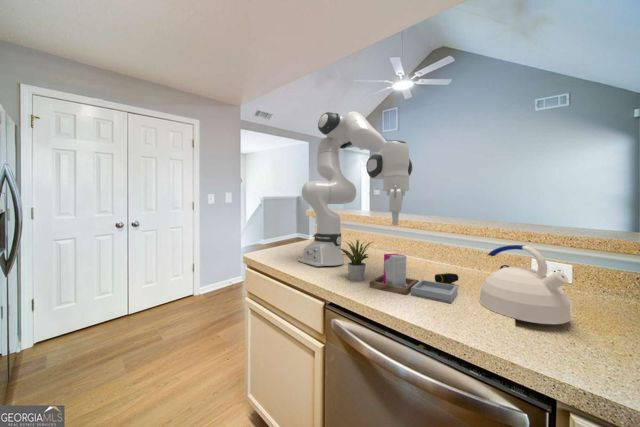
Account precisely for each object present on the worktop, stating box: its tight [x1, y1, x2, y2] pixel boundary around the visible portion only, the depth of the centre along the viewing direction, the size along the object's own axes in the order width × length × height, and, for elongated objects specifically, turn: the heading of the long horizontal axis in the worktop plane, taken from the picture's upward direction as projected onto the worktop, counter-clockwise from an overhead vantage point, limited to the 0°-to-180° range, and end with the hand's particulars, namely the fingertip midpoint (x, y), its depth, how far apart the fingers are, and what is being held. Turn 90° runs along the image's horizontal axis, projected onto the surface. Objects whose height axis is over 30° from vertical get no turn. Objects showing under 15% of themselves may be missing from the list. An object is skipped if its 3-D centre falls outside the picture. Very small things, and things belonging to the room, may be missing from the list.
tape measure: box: [434, 272, 459, 284], centre depth 94 cm, size 7×7×4 cm
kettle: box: [478, 244, 572, 325], centre depth 72 cm, size 20×21×18 cm
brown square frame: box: [368, 273, 420, 296], centre depth 91 cm, size 13×13×2 cm
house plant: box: [339, 239, 373, 282], centre depth 100 cm, size 14×14×16 cm
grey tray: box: [410, 279, 459, 304], centre depth 83 cm, size 12×12×2 cm
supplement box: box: [382, 253, 407, 287], centre depth 91 cm, size 6×6×12 cm
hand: (395, 224), depth 91 cm, fingers open, 8 cm apart
